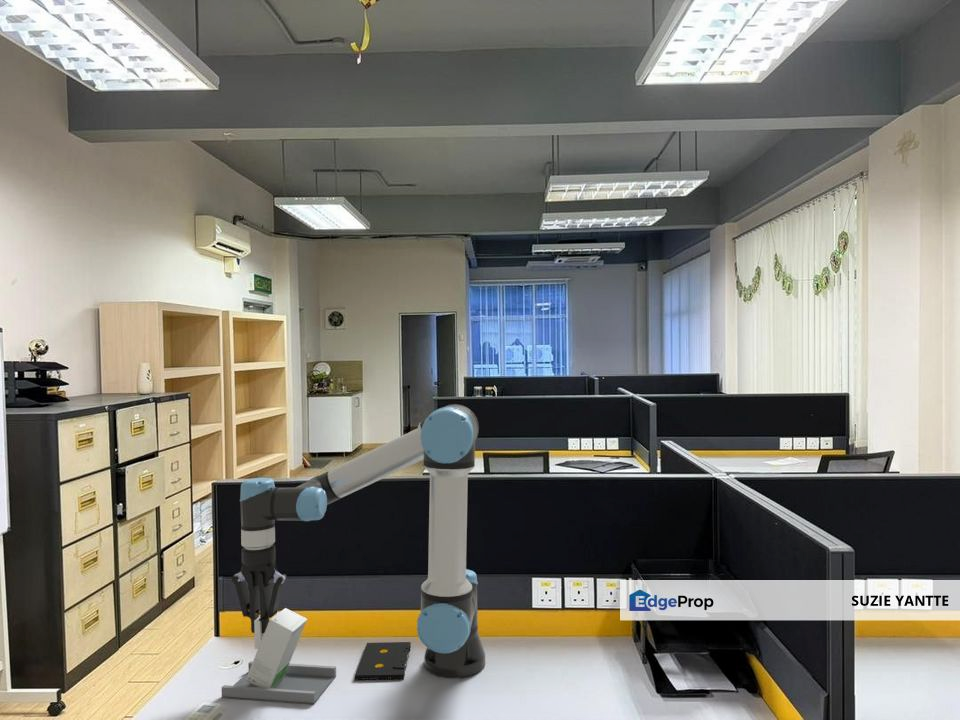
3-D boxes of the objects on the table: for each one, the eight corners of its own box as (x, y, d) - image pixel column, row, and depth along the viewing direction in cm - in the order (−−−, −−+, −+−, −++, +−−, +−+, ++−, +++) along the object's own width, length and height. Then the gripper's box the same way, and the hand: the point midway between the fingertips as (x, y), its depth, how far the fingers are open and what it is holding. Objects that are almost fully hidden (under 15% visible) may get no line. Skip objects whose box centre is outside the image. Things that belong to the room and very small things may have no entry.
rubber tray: (336, 676, 158) (336, 666, 158) (314, 704, 146) (313, 693, 146) (250, 670, 162) (250, 661, 162) (221, 697, 149) (221, 687, 149)
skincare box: (267, 693, 150) (292, 633, 149) (242, 679, 151) (267, 619, 150) (284, 676, 158) (309, 618, 157) (261, 663, 159) (285, 605, 158)
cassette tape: (403, 682, 156) (403, 673, 156) (354, 683, 156) (354, 674, 156) (410, 649, 174) (410, 640, 174) (367, 649, 174) (366, 641, 174)
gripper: (291, 541, 157) (293, 640, 157) (240, 540, 159) (243, 638, 159) (277, 550, 150) (279, 654, 150) (224, 549, 152) (226, 652, 152)
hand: (260, 646), depth 155 cm, fingers closed
